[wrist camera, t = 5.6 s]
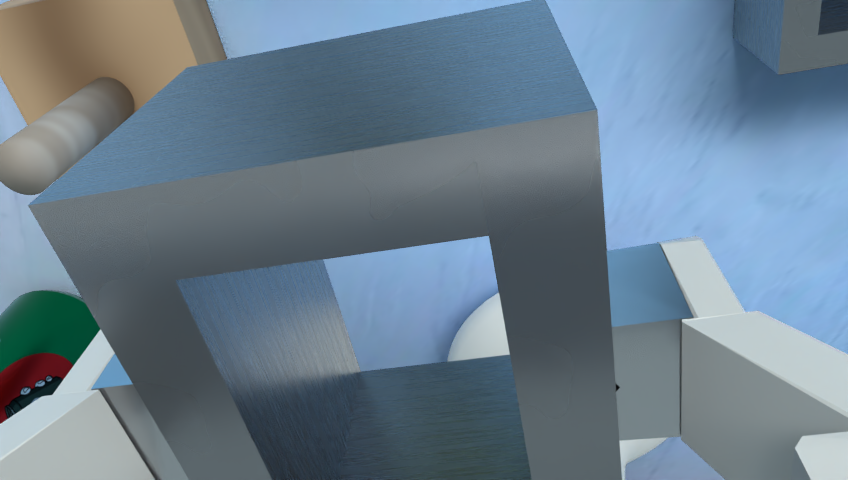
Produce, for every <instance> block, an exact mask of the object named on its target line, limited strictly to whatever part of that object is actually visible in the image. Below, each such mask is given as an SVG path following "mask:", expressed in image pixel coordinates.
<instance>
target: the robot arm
mask: <svg viewBox="0 0 848 480" xmlns="http://www.w3.org/2000/svg"><path fill="white" fill-rule="evenodd" d="M607 263H608V278H609V293H610V308H611V323H612V337H613V352H614V367H615V382H616V397H617V412H618V427H619V441H623V440H637V439H652V438H667V437H681V440H682V441H683V442H684V443H685V444H687V445H688V446H689V447H690V448H691V449H692V450H693V451H694V452H695V453H697V454H698V455H699V456H700V457H701V458H702V459H703V460H704V461H705V462H707V463H708V464H709V465H710V466H711V467H712V468H713V469H714V470H715V471H717V472H718V473H719V474H720V475H721V476H722V477H723V478H724V479H725V480H848V354H846V353H844V352H842V351H840V350H838V349H836V348H834V347H832V346H830V345H828V344H826V343H823V342H821V341H819V340H817V339H815V338H813V337H811V336H809V335H807V334H805V333H803V332H801V331H799V330H797V329H795V328H793V327H790V326H788V325H786V324H784V323H782V322H780V321H778V320H776V319H774V318H772V317H770V316H768V315H766V314H764V313H762V312H760V311H753V312H745V310H744V309H743V307H742V305H741V304H740V302H739V300H738V299H737V297H736V295H735V294H734V292H733V290H732V289H731V287H730V285H729V283H728V282H727V280H726V278H725V277H724V275H723V273H722V272H721V270H720V268H719V267H718V265H717V263H716V262H715V260H714V258H713V257H712V255H711V253H710V251H709V250H708V248H707V246H706V245H705V243H704V241H703V240H702V239H701V238H699V237H697V236H692V237H686V238H680V239H674V240H668V241H663V242H657V243H654V244H648V245H641V246H635V247H628V248H622V249H615V250H609V251H607ZM0 480H189V479H188V477H187V476H186V474H185V472H184V470H183V469H182V467H181V465H180V464H179V462H178V460H177V459H176V457H175V455H174V453H173V452H172V450H171V448H170V447H169V445H168V443H167V441H166V440H165V438H164V436H163V435H162V433H161V431H160V430H159V428H158V426H157V424H156V423H155V421H154V419H153V418H152V416H151V414H150V412H149V411H148V409H147V407H146V406H145V404H144V402H143V401H142V399H141V397H140V395H139V394H138V392H137V390H136V389H135V387H134V385H133V383H132V382H131V380H130V378H129V377H128V375H127V373H126V372H125V370H124V368H123V366H122V365H121V363H120V361H119V360H118V358H117V356H116V355H115V353H114V351H113V349H112V348H111V346H110V344H109V343H108V341H107V339H106V337H105V336H104V334H103V332H102V331H101V329H100V331H99V332H98V333H97V335H96V336H95V337H94V339H93V340H92V342H91V343H90V344H89V346H88V347H87V348H86V350H85V351H84V352H83V354H82V355H81V357H80V358H79V359H78V361H77V362H76V363H75V365H74V366H73V367H72V369H71V370H70V372H69V373H68V374H67V376H66V377H65V378H64V380H63V381H62V382H61V384H60V385H59V387H58V388H57V389H56V391H55V392H54V393H53V395H49V396H42V397H40V398H39V399H37V400H36V401H34V402H33V403H31V404H30V405H28V406H27V407H25V408H24V409H22V410H21V411H19V412H18V413H16V414H15V415H13V416H12V417H10V418H9V419H7V420H6V421H4V422H3V423H1V424H0Z"/></svg>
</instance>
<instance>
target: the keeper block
mask: <svg viewBox="0 0 848 480" xmlns="http://www.w3.org/2000/svg"><path fill="white" fill-rule="evenodd" d="M222 60H227V57H226V54H225V52H224V49H223V46H222V43H221V41H220V38H219V35H218V32H217V29H216V27H215V24H214V21H213V18H212V16H211V13H210V10H209V7H208V4H207V2H206V0H10V1H8V2H5V3H2V4H0V76H1V77H2V79H3V81H4V83H5V85H6V87H7V88H8V90H9V92H10V94H11V96H12V98H13V99H14V101H15V103H16V105H17V107H18V108H19V110H20V112H21V114H22V116H23V118H24V119H25V121H26V123H27V125H28V126H27V127H25V128H24V129H22V130H21V131H19V132H18V133H16V134H15V135H14V136H12V137H11V138H9V139H8V140H6V141H5V142H3V143H2V144H0V181H1V182H2V183H3V184H4V185H5V186H7V187H8V188H10V189H11V190H13V191H15V192H18V193H20V194H25V195H35V194H39V193H41V192H43V191H44V190H45V189H46V188H47V187H49V186H50V185H51V184H52V183H53V182H54V181H56V180H57V179H59V178H60V177H61V176H62V175H64V174H65V173H66V172H67V171H68V170H69V169H70V168H72V167H73V166H74V165H75V164H76V163H77V162H79V161H80V160H81V159H82V158H83V157H84V156H85V155H87V154H88V153H89V152H90V151H91V150H92V149H94V148H95V147H96V146H97V145H98V144H99V143H100V142H102V141H103V140H104V139H105V138H106V137H107V136H109V135H110V134H111V133H112V132H113V131H114V130H115V129H117V128H118V127H119V126H120V125H121V124H122V123H123V122H125V121H126V120H127V119H128V118H129V117H130V116H132V115H133V114H134V113H135V112H136V111H137V110H138V109H140V108H141V107H142V106H143V105H144V104H145V103H147V102H148V101H149V100H150V99H151V98H152V97H153V96H155V95H156V94H157V93H158V92H159V91H160V90H162V89H163V88H164V87H165V86H166V85H167V84H168V83H170V82H171V81H172V80H173V79H174V78H175V77H176V76H178V75H179V74H180V73H181V72H182V71H183V70H185V69H186V68H187V67H191V66H196V65H202V64H207V63H212V62H217V61H222Z"/></svg>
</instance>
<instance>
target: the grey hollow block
mask: <svg viewBox="0 0 848 480" xmlns="http://www.w3.org/2000/svg"><path fill="white" fill-rule="evenodd" d="M733 38H734V39H735V40H736V41H738V42H739V43H740V44H741V45H743V46H744V47H745V48H746V49H747V50H749V51H750V52H751V53H752V54H753V55H755V56H756V57H757V58H758V59H759V60H761V61H762V62H763V63H764V64H766V65H767V66H768V67H769V68H770V69H772V70H773V71H774V72H775V73H776V74H778V75H781V74H787V73H793V72H799V71H805V70H811V69H817V68H824V67H830V66H836V65H842V64H848V0H735V8H734V30H733Z"/></svg>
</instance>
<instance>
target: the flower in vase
mask: <svg viewBox="0 0 848 480" xmlns="http://www.w3.org/2000/svg"><path fill="white" fill-rule="evenodd" d="M501 355H510V352H509V347H508V341H507V335H506V330H505V324H504V318H503V313H502V307H501V301H500V295H499V293H497V294H496V295H494V296H493V297H491V298H489V299H488V300H486V301H485V302H484V303H483V304H482V305H480V306H479V307H478V308H477V309H476V310H475V311H474V312H473V313H472V314H471V315H470V316H469V317H468V318H467V319H466V321H465V322H464V323H463V325H462V326H461V328H460V329H459V331H458V332H457V334H456V336H455V338H454V340H453V342H452V345H451V347H450V351H449V355H448V360H447V362H449V361H458V360H467V359H475V358H484V357H493V356H501ZM667 438H668V437H667ZM667 438H652V439H637V440H623V441H619V442H620V457H621V472H622V480H625V467H626V464H627V463H629V462H631V461H633V460H635V459H637V458H639V457H641V456H642V455H644V454H646V453H648V452H649V451H651V450H653V449H654V448H656V447H657V446H658V445H660V444H661V443H662V442H663V441H665V440H666V439H667Z"/></svg>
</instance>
